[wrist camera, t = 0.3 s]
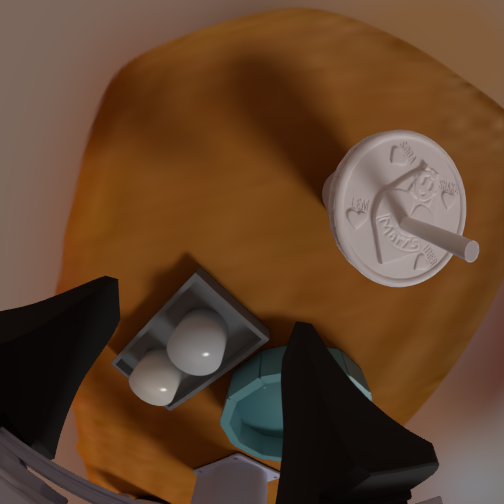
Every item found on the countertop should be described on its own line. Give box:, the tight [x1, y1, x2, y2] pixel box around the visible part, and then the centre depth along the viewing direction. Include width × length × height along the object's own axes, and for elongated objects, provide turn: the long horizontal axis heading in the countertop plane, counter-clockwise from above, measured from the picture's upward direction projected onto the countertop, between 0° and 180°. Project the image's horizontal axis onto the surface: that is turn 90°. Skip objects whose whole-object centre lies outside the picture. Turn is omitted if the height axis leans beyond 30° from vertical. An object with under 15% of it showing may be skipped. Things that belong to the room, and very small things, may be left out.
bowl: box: [220, 346, 372, 461], centre depth 22 cm, size 13×13×4 cm
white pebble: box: [167, 308, 229, 376], centre depth 20 cm, size 4×4×4 cm
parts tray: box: [111, 266, 270, 411], centre depth 22 cm, size 13×7×2 cm, turn 135°
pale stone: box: [129, 347, 184, 406], centre depth 21 cm, size 4×4×4 cm
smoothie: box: [322, 130, 479, 287], centre depth 12 cm, size 6×6×14 cm
